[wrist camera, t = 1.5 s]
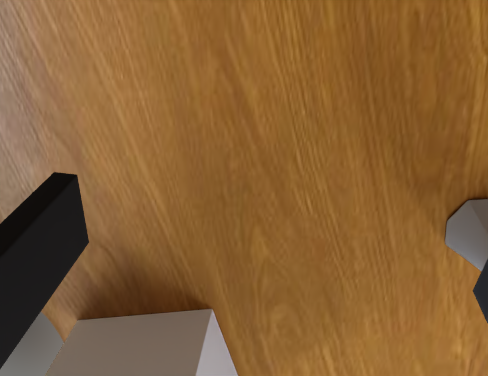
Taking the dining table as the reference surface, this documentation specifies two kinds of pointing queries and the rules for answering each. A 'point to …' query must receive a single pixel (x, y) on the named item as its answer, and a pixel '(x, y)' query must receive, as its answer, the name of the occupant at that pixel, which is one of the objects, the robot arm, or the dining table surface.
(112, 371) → the white pentagonal block
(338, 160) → the dining table surface
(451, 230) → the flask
